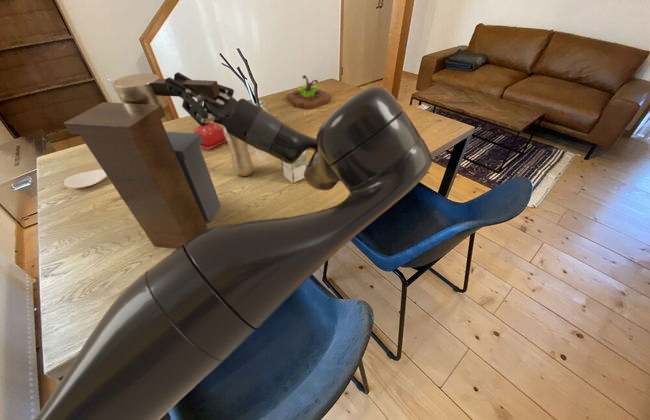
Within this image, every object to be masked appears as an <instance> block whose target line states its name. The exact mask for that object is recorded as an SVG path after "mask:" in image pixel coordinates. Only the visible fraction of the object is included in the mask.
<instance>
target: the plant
mask: <svg viewBox="0 0 650 420" xmlns="http://www.w3.org/2000/svg"><path fill="white" fill-rule="evenodd" d="M302 79H303V80H305V82H306V84H303V86H300V87H297V89H295V90H293V91H292V92H290V93H287V94H286V100H287V101H288V102H289V103H290V104H292V105H293V107H297V108H298V109H305V110H313V109H315V108H319V107H320V106H324V105H327V104H329V103H330V102H331V100H332V94H329V93H328V92H327V91H325V90H322V89H320V88H317V87H318V86H317V85H314V83H315V84H319V80H317V79H314V80H311V82H310V81H309V79H308V77H307V75H304V74H303V75H302Z"/></svg>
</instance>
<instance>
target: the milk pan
mask: <svg viewBox="0 0 650 420" xmlns="http://www.w3.org/2000/svg"><path fill="white" fill-rule="evenodd" d="M166 79H167V78H160V76H159V75H158V74H155V73H135V74H130V75H125V76H123V77H119V78H117V79H115V80H114V81H112V84H111V85H112V87H113V89H114V91H115V92H116V94H117V96H118V99H119V100H120V103H128V104H147V105H162V108H163V109H164V108H166V107H167V106H168V105H169V100H168V97H179V96H177V95H175V94H173V93H172V92H170V91H168V90H167V89H166V88H165V80H166ZM173 79H174V78H173ZM174 80H176V81H177V82H179V83H181V84H182V85H184V86H186V87H188V89H191V90H193V91H195V92H197V93H204V94H206V95H208V96H209V97H211V98H216V97H217V96H218V95H219V94H220V91H219V87H218V84H219V83H218V80H206V79H205V80H204V79H203V80H201V79H191V80H179V79H174ZM179 98H180V97H179ZM192 98H194V97H193V96H192Z"/></svg>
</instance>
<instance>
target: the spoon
mask: <svg viewBox="0 0 650 420" xmlns="http://www.w3.org/2000/svg"><path fill="white" fill-rule="evenodd" d="M106 178H108V176H107V175H106V173H105V172H104V170H103V169H102V168H100V169H93V170H89V171H84V172H80V173H77V174H73V175H70V176H68V177H67V178H65V180H64V181H63V184H64V186H65V187H66V188H70V189H80V188H81V189H83V188H88V187H90V186H94V185H97V184H98V183H100V182H102V181H103V180H105V179H106Z"/></svg>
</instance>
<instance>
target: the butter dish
mask: <svg viewBox="0 0 650 420" xmlns="http://www.w3.org/2000/svg"><path fill="white" fill-rule="evenodd" d="M194 133H196V134H201V137H202V140H203V142H202V143H201V144H200V145H199V146H200V148H203V149H206V150H211V149H213V148H214V147H216V146H218V145H221V144H223V143H224V142H227V141H226V138H225V136H224V133H223V127H222V125H220V124H217V123H214V122H213V121H210V122H207V123H206V126H201V125H198V126H197V127H195V129H194Z"/></svg>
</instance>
